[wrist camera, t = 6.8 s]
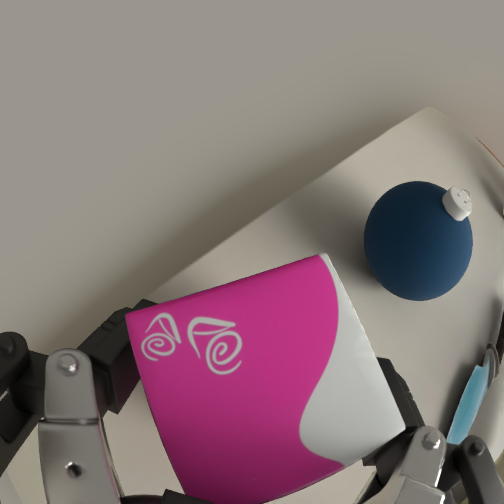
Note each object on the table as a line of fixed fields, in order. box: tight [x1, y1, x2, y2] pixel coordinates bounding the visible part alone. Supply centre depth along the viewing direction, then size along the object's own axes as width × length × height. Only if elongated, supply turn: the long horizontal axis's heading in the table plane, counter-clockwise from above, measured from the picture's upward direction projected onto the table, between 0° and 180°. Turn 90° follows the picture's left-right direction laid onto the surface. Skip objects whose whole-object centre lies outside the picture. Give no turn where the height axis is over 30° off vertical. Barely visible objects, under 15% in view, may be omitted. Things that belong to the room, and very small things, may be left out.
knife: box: [446, 312, 504, 445], centre depth 15 cm, size 22×2×5 cm
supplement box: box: [125, 253, 405, 504], centre depth 10 cm, size 6×6×12 cm
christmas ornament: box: [364, 181, 473, 301], centre depth 16 cm, size 8×8×10 cm
